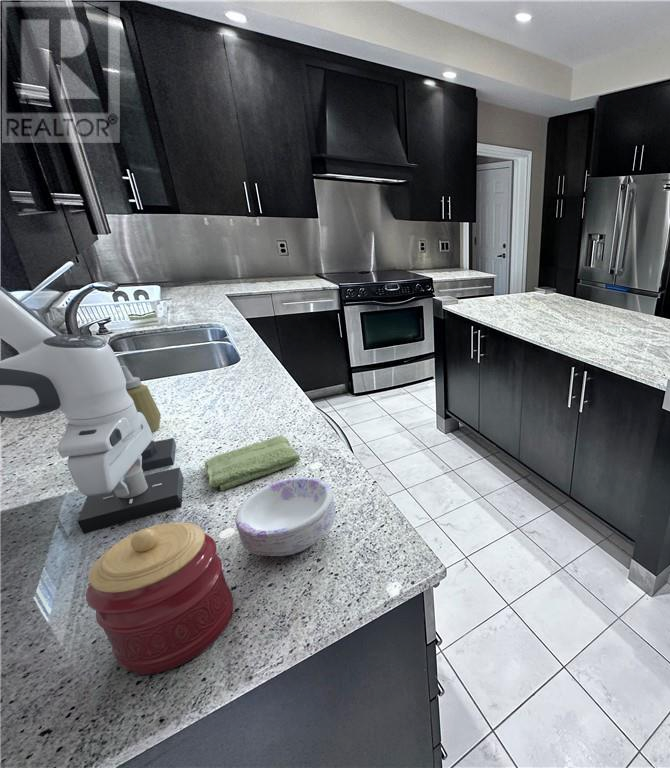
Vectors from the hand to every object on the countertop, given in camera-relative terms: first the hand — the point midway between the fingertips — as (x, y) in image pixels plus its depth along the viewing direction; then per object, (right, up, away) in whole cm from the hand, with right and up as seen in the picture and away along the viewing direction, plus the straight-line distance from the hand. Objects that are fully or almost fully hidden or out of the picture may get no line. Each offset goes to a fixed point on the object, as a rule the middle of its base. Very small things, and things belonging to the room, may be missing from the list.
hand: (130, 485), depth 79 cm
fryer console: (0, -4, +2) cm, 4 cm away
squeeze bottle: (-22, +7, +28) cm, 36 cm away
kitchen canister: (+28, -15, -22) cm, 38 cm away
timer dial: (0, -1, +1) cm, 1 cm away
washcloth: (+15, +1, +15) cm, 21 cm away
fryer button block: (-11, +2, +15) cm, 19 cm away
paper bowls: (+34, -8, -5) cm, 36 cm away
